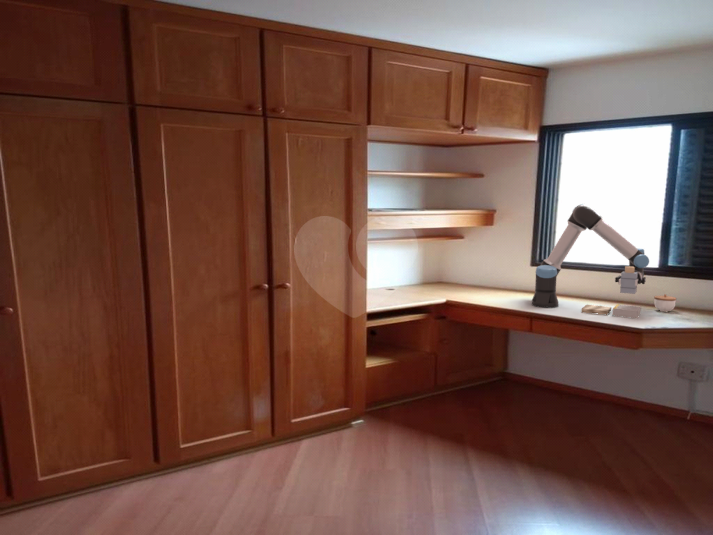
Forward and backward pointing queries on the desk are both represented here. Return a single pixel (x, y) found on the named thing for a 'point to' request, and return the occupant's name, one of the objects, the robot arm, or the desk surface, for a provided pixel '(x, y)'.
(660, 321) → the desk surface
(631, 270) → the parcel
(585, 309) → the pallet
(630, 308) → the dock
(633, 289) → the grey stacked container
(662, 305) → the lidded jar
